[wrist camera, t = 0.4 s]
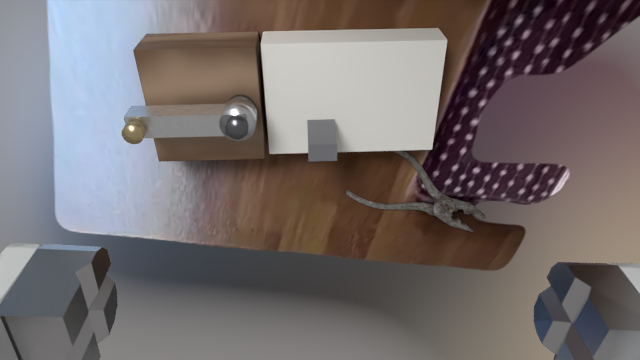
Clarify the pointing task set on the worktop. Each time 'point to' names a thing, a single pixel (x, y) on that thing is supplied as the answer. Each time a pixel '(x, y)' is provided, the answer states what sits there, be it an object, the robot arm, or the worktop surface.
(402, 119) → the door panel
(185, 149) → the jamb block
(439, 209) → the pliers
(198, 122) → the lock bar
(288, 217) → the worktop surface
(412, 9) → the worktop surface
